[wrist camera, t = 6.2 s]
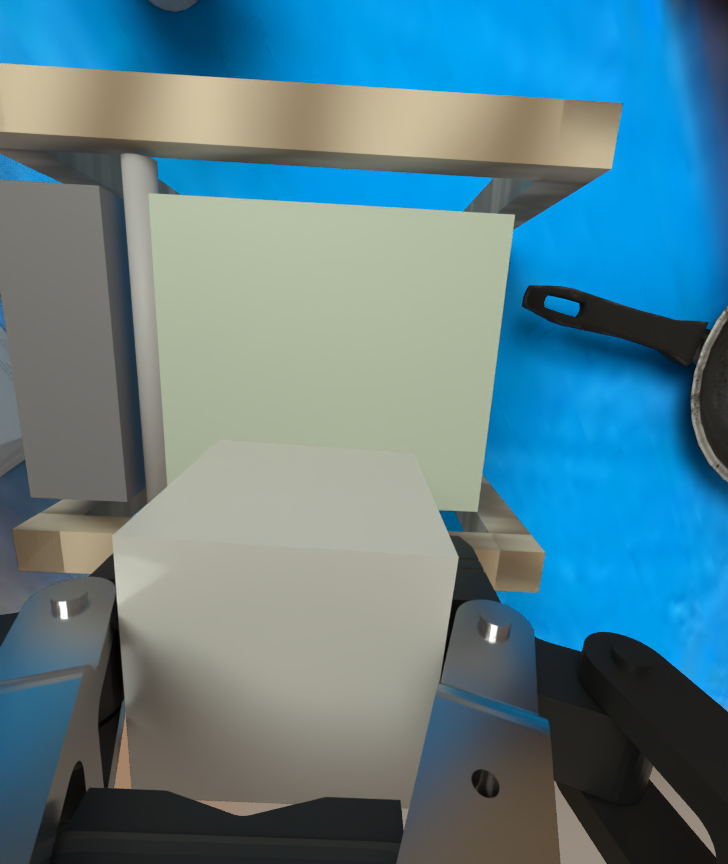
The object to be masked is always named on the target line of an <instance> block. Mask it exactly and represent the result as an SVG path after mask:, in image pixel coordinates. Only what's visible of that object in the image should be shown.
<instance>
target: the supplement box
mask: <svg viewBox="0 0 728 864" xmlns="http://www.w3.org/2000/svg"><path fill="white" fill-rule="evenodd" d="M23 460H25V455H24V448H23V441H22V435H21V428H20V421H19V414H18V408H17V401H16V394H15V387H14V381H13V374H12V367H11V360H10V354H9V347H8V340H7V333H6V331H5V330H4V329H3V328H2V327H1V326H0V476H2V475H4V474H5V473H6V472H8V471H9V470H11V469H12V468H13V467H15V466H16V465H18V464H19V463H21V462H22V461H23Z"/></svg>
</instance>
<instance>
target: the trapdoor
mask: <svg viewBox="0 0 728 864" xmlns="http://www.w3.org/2000/svg"><path fill="white" fill-rule="evenodd" d="M121 169H122V182H123V195H124V199H123V198H121V197H119V196H117V195H116V194H114V193H112V192H110V191H108V190H106V189H104V188H102V187H100V186H96V185H79V184H62V183H45V182H28V181H11V180H0V293H1V300H2V306H3V313H4V320H5V327H6V333H7V340H8V347H9V354H10V360H11V367H12V374H13V381H14V387H15V394H16V401H17V408H18V414H19V421H20V428H21V435H22V441H23V448H24V455H25V462H26V468H27V475H28V482H29V489H30V495H31V498H52V499H74V500H96V501H118V502H128V501H129V500H130V499H132V498H133V497H134V496H136V495H137V494H138V493H140V492H141V491H142V490H143V489H145V488H146V492H147V504H148V503H149V502H150V501H152V500H153V499H154V498H155V497H156V496H157V495H158V494H159V493H161V492H162V491H163V490H164V489H165V488H166V487H167V486H168V485H170V484H171V483H172V482H173V481H174V480H175V479H176V478H177V477H179V476H180V475H181V474H182V473H183V472H184V471H185V470H186V469H188V468H189V467H190V466H191V465H192V464H193V463H194V462H195V461H196V460H198V459H199V458H200V457H201V456H202V455H203V454H204V453H205V452H207V451H208V450H209V449H210V448H211V447H212V446H213V445H214V444H216V443H217V442H218V441H219V440H231V441H245V442H259V443H273V444H287V445H301V446H315V447H329V448H343V449H357V450H371V451H385V452H399V453H413V454H414V455H415V457H416V459H417V462H418V464H419V466H420V469H421V471H422V473H423V476H424V478H425V480H426V483H427V485H428V487H429V490H430V492H431V494H432V497H433V499H434V501H435V503H436V506H437V508H438V510H447V511H469V512H478V505H479V497H480V489H481V481H482V473H483V465H484V457H485V449H486V441H487V433H488V425H489V418H490V410H491V402H492V394H493V386H494V378H495V370H496V362H497V354H498V346H499V338H500V330H501V322H502V315H503V307H504V299H505V291H506V283H507V275H508V267H509V259H510V251H511V243H512V235H513V227H514V219H515V215H511V214H494V213H477V212H460V211H443V210H426V209H409V208H392V207H375V206H358V205H341V204H324V203H307V202H290V201H273V200H256V199H239V198H222V197H205V196H188V195H171V194H159V185H158V168H157V162H156V161H155V160H154V159H152V158H149V157H147V156H143V155H139V154H131V153H125V154H121Z"/></svg>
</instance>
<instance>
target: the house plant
mask: <svg viewBox="0 0 728 864" xmlns="http://www.w3.org/2000/svg"><path fill="white" fill-rule="evenodd" d="M149 1H150V2H151V3H152V4H153V5H155V6H157V7H159V8H161V9H163V10H167V11H174V12H176V11H183V10H186V9H188V8H189V7H191V6H192V5H194V4H195V3H196V2H197V1H198V0H149Z"/></svg>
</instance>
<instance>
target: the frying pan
mask: <svg viewBox="0 0 728 864" xmlns="http://www.w3.org/2000/svg"><path fill="white" fill-rule="evenodd" d="M548 295H549V296H554V297H559V298H563V299H567V300H571V301H574V302H577V303H579V305H580V310H579V312H578V314H577V316H576V317H573V316H569V315H565V314H562V313H559V312H556V311H553V310H550V309H548V308H545V307H544V301H545V298H546V297H547V296H548ZM522 307H524V308H526V309H528V310H530V311H532V312H534V313H535V314H537V315H539V316H541V317H543V318H545V319H547V320H548V321H550V322H553V323H556V324H559V325H561V326H566V327H571V328H576V329H581V330H585V331H590V332H595V333H599V334H604V335H609V336H614V337H618V338H622V339H625V340H628V341H631V342H634V343H637V344H640V345H643V346H646V347H649V348H652V349H655V350H657V351H659V352H660V353H661V354H663V355H664V356H665V357H667V358H668V359H669V360H671V361H673V362H675V363H676V364H678V365H680V366H687V367H689V366H690V364H691V363H693V364H697V365H696V368H695V372H694V377H693V383H692V389H691V395H690V402H691V419H692V424H693V427H694V431H695V434H696V438H697V441H698V445H699V447H700V448H701V450H702V452H703V454H704V456H705V457H706V459H707V461H708V463H709V464H710V465H711V466H712V468H713V469H714V470H715V471H716V472H717V473H718V474H719V475H720V476H721V477H722V478H723V479H724V480H725V481H726V482H728V306H727V308H726V309H725V310H724V312H723V313H722V314H721V315H720V317H719V318H718V319H717V321H716V323H715V325H714V327H713V329H712V330H708V329H706V327H707V325H708V322H702V321H680V320H673V319H670V318H666V317H662V316H659V315H655V314H651V313H647V312H644V311H640V310H637V309H634V308H630V307H627V306H624V305H621V304H618V303H615V302H612V301H609V300H606V299H603V298H600V297H597V296H594V295H591V294H588V293H585V292H582V291H579V290H576V289H573V288H567V287H561V286H534V285H529V287H528V288H527V290H526V292H525V294H524V297H523V302H522Z"/></svg>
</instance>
